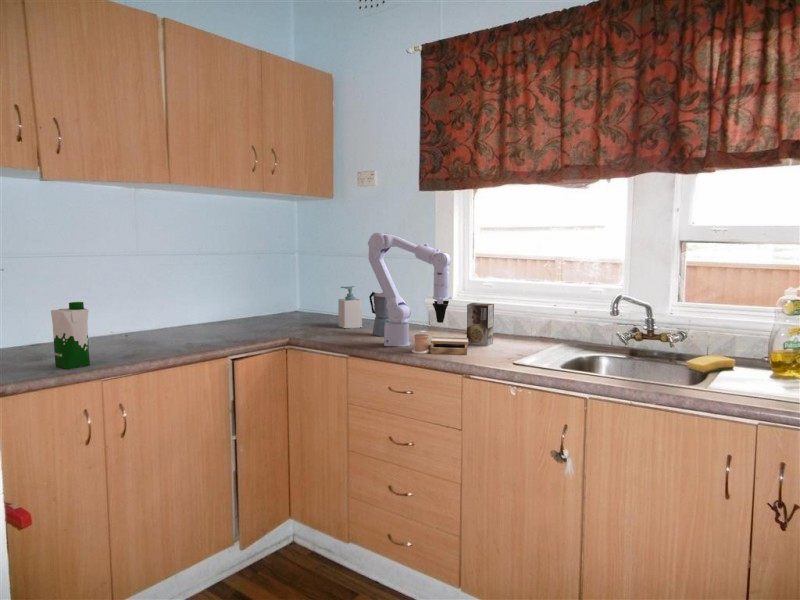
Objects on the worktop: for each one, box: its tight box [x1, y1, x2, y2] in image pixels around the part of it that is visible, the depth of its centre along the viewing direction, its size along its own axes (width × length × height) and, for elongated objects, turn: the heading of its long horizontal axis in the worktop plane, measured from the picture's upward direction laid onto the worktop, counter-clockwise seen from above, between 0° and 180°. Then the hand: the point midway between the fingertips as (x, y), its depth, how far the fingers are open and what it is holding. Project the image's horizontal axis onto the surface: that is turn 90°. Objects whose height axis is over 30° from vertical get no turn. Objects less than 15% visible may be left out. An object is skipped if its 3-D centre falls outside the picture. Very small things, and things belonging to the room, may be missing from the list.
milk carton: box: [50, 301, 91, 370], centre depth 171 cm, size 9×9×20 cm
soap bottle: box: [337, 285, 363, 329], centre depth 253 cm, size 9×9×19 cm
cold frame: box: [429, 343, 468, 356], centre depth 201 cm, size 13×16×2 cm
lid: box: [430, 336, 469, 345], centre depth 205 cm, size 14×9×1 cm, turn 83°
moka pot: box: [368, 291, 390, 338], centre depth 232 cm, size 10×15×20 cm, turn 53°
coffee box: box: [466, 302, 495, 347], centre depth 213 cm, size 9×6×16 cm
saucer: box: [411, 348, 430, 354], centre depth 198 cm, size 6×6×1 cm
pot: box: [413, 333, 429, 352], centre depth 197 cm, size 5×5×6 cm
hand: (440, 321), depth 205 cm, fingers open, 7 cm apart
